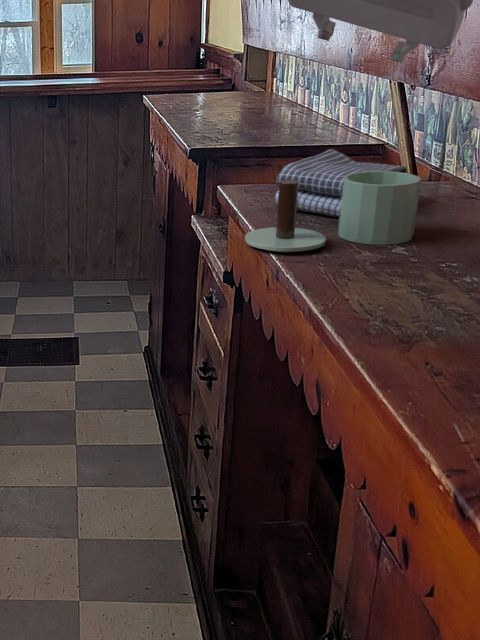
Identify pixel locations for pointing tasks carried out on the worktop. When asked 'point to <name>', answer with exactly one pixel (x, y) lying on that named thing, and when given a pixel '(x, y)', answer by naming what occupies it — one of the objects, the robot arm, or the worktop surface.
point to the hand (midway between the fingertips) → (361, 47)
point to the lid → (286, 226)
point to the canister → (378, 207)
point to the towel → (325, 180)
